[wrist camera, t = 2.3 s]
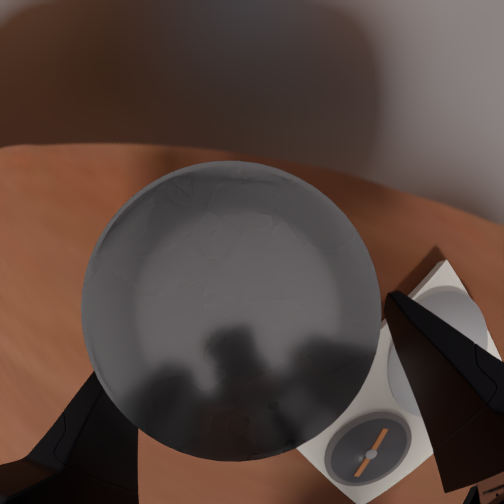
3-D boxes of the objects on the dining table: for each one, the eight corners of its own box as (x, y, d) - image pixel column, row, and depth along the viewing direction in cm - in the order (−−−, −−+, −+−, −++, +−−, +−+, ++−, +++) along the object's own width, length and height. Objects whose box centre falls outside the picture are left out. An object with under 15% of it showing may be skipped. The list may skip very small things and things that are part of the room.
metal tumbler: (253, 361, 17) (196, 497, 4) (205, 298, 18) (47, 280, 5) (317, 312, 18) (434, 334, 4) (267, 250, 19) (246, 112, 5)
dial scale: (356, 499, 14) (361, 511, 13) (268, 410, 17) (267, 421, 15) (497, 368, 15) (510, 371, 13) (438, 262, 17) (451, 258, 16)
